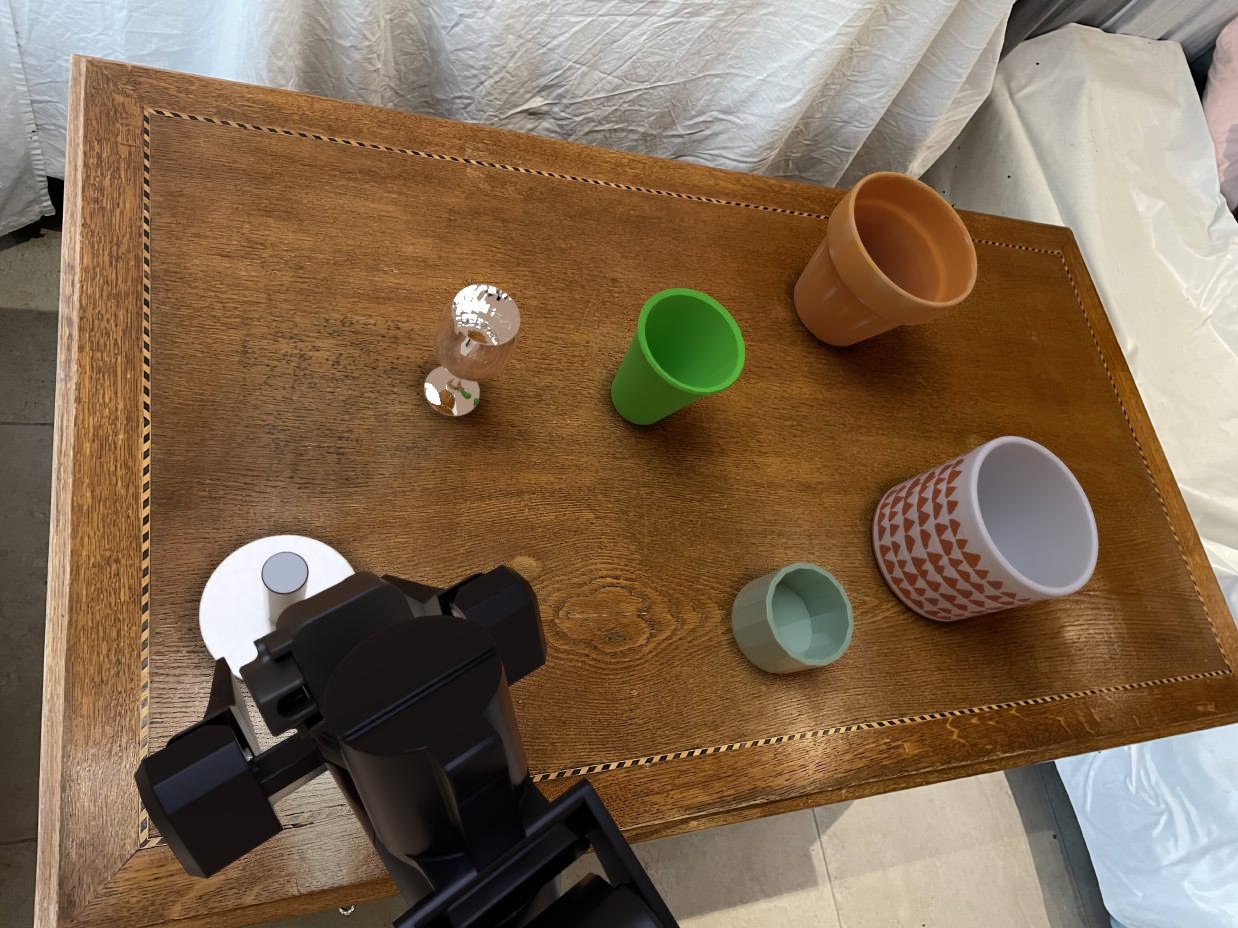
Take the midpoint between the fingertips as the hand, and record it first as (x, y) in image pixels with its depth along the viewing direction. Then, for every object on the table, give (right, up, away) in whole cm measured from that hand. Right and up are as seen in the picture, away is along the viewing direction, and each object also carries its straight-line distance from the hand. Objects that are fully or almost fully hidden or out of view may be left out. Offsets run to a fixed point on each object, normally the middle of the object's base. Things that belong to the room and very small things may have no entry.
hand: (307, 620), depth 44 cm
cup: (+19, +14, +25) cm, 35 cm away
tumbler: (+30, -5, +23) cm, 38 cm away
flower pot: (+39, +25, +38) cm, 60 cm away
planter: (+47, 0, +32) cm, 57 cm away
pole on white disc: (-5, -1, +9) cm, 10 cm away
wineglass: (+4, +14, +19) cm, 24 cm away
